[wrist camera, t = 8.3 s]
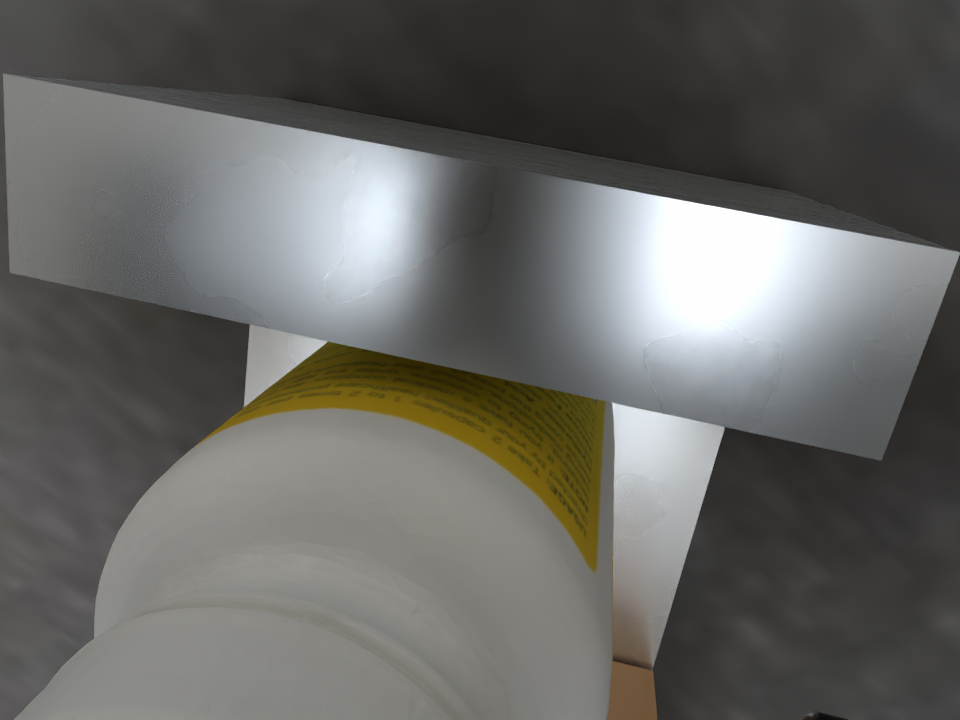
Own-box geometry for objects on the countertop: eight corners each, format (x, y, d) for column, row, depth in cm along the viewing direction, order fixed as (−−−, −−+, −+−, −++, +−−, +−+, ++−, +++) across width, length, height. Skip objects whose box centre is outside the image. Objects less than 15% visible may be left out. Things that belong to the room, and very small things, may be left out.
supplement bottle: (301, 295, 14) (-304, 630, 5) (594, 254, 13) (550, 587, 4) (362, 551, 15) (-9, 1191, 6) (630, 534, 14) (665, 1283, 5)
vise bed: (786, 190, 13) (960, 252, 6) (581, 886, 18) (567, 1291, 12) (280, 97, 14) (3, 74, 7) (226, 785, 19) (38, 1111, 13)
